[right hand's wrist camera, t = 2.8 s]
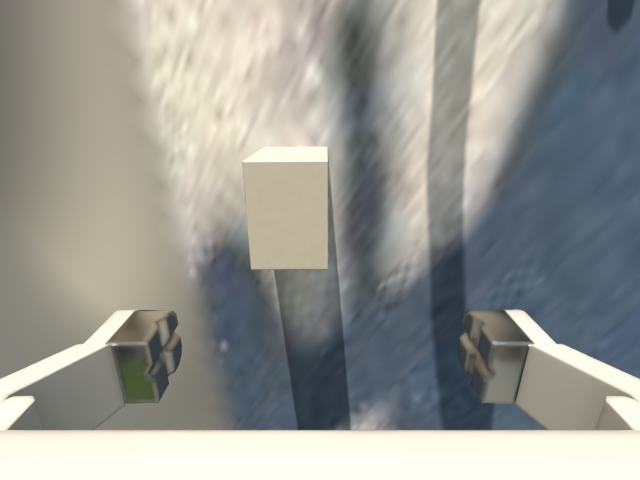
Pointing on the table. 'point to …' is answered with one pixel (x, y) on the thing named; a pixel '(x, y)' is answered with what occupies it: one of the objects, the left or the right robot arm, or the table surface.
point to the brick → (287, 208)
